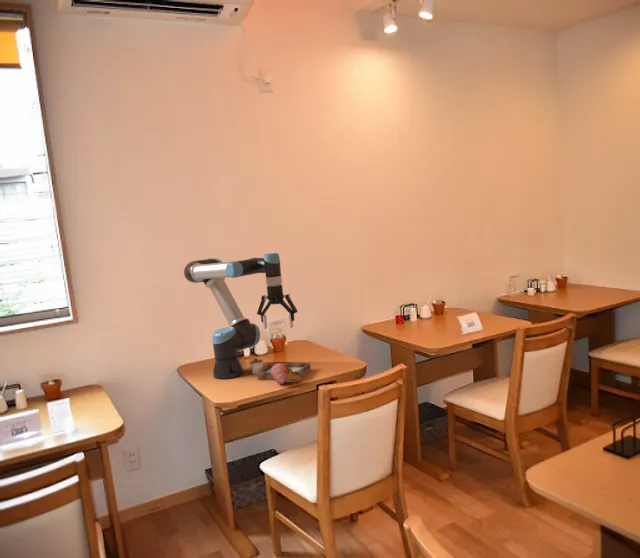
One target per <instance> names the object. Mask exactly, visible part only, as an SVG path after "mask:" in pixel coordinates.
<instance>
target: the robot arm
mask: <svg viewBox="0 0 640 558" xmlns="http://www.w3.org/2000/svg"><path fill="white" fill-rule="evenodd" d="M183 269H184V270H183V274H184V278H185V279H186V281H188V282H190V283H193V284H195V283H196V284H197V283H203V284H204V286H205V287H206V288H208V289H210V291H211V293H212V295H213V297H214V299H215V300H216V302H217V304H218V306H219V308H220V311H221V312H222V314H223V316H224V318H225V319H226V321H227V324H229V326H226V327H221V328H218V329H216V330H214V331H213V333H212V335H211V336H212V337H211V338H212V341H211V342H212V346H213V354H214V365H213V371H212V375H213V379H217V380H226V379H233V378H238V377H239V376H243V374H244V368H243V366H242V363H241V361H240V358H239V351H242V350H247V349H250V348H253V347H255V346H257V345H258V344H259V342H260V340H261V332H260V331H261V330H260V328H259V326H258V325H257V324H255V323H252V322H251V321H250V320H249V318H247V317H245V316H244V315H243V312H242V311H241V309H240V307H239V306H238V303H237V302H236V300H235V298H234V296H233V294H232V292H231V290H230V288H229V286H228V285H227V283H226V281H225V279H226V278H232V279H233V278H234V279H235V278H236V279H237V278H239V277H245V276H250V275H251V276H252V275H255V274H265V281H266V282H265V283H266V285H267V286H266V291H267V295H265V294H264V295H261V301H260V303H259V306H258V310H257V312H256V315H258V316H260V319H261V323H263V330H266V329H268V321H267V314H266V313H267V311H268V310H269V308H270V307H271V305H280V306H282V307H283V308H284V309H285V310H286V311H287V312H288V313H289V314H288V320H289V321H288V322H289V328H290V329H293V328H294V321H295V314H297V313H298V309H297V307H296V306H295V304H294V302H293V301H292V298H291V296H290V294H289V293H287V294H284V291H283V285H282V284H283V279H282V272H281V271H282V269H281V259H280V255H279V253H277V252H273V253H272V252H270V253H264V254H263V257H250V258H248V259H243V260H236V261H235V260H234V261H222V260H221V259H219V258H215V257H214V258H211V257H210V258H206V259H201V260H200V259H199V260H192V261H190V262H188V263H187V264H186V265H185V267H184V268H183ZM284 299H285V300H286V302H287V303H288V304H287V303H286V302H285V300H284ZM267 300H268V302H267V304H266V305H265V303H266V301H267ZM264 306H265V307H264Z"/></svg>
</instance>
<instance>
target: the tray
mask: <svg viewBox="0 0 640 558" xmlns="http://www.w3.org/2000/svg"><path fill="white" fill-rule="evenodd" d="M275 364H276V363H269V364H267V365H266V366H264V367H263V369H262V370H261V371H259V372H258V373H257V374H256V375H257V381H276V380H275V379H274V378H273V376H272V374H271V368H272V367H273V366H274V365H275ZM284 364H285V365H286V366H287V367H288V369H291V370H292V371H293V372H294V373H295V374H297V375H299V376H301V377H302V379H301V381H303V380H304V378H306V376H307V375H308V374H309V373H310V372H311V370H312V368H311V362H303V363H301V362H300V363H299V362H298V363H284ZM290 381H294V382H295V380H290Z"/></svg>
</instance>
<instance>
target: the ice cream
mask: <svg viewBox="0 0 640 558" xmlns="http://www.w3.org/2000/svg"><path fill="white" fill-rule="evenodd" d="M274 364H275V365H274V366H273V367H272V368H271V374H272V376H273V378H274V379H275V380H274V381H275V382H277V384H278V385H284V384H285V383H286V382H289V381H290V380H295V381H297V382H301V381H302V380H303V379H302V377H301V376H299V375H297V374H295V373H294V372H293V371H292V370H291V369H288V367H287V366H286V365H285V364H286V363H283V362H282V363H274ZM301 379H302V380H301ZM295 381H294V382H295Z"/></svg>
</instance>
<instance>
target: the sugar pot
mask: <svg viewBox="0 0 640 558" xmlns="http://www.w3.org/2000/svg"><path fill="white" fill-rule="evenodd" d="M249 364H250V369H251V372H252V375H257V373H258V372H259V371H261V370H262V369H263V368H264V363H263V359H260V358H259V359H258V358H253V360H251V361H249Z"/></svg>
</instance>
